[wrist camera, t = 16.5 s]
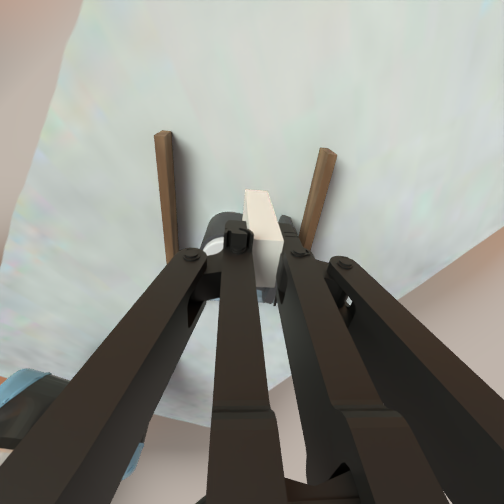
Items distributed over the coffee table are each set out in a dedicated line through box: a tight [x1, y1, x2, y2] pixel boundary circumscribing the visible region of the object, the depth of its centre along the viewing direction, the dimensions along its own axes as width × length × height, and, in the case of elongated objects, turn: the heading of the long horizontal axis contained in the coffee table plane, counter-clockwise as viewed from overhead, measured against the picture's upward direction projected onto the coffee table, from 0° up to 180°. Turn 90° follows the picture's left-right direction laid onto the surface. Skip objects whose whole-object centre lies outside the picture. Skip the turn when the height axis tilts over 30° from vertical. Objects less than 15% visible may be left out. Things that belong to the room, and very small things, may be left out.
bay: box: [154, 130, 337, 303], centre depth 40 cm, size 23×26×5 cm
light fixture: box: [200, 212, 293, 304], centre depth 39 cm, size 11×13×11 cm
